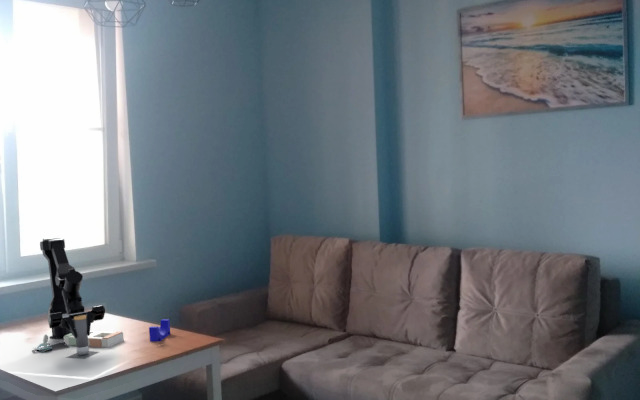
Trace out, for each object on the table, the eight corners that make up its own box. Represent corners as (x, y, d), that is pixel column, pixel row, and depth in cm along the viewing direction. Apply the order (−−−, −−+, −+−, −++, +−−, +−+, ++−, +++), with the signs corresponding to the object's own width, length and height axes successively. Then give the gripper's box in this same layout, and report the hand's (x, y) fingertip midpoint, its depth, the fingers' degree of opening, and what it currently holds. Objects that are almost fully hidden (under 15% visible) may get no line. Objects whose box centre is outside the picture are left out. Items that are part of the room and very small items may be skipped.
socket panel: (63, 346, 251) (62, 336, 251) (80, 339, 260) (79, 329, 259) (107, 348, 244) (107, 338, 244) (123, 341, 253) (122, 331, 252)
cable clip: (159, 334, 261) (158, 319, 261) (170, 334, 260) (169, 319, 260) (146, 343, 249) (145, 327, 249) (157, 343, 248) (156, 327, 248)
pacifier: (35, 356, 240) (53, 352, 243) (33, 339, 240) (51, 335, 243) (32, 351, 247) (49, 348, 250) (30, 335, 246) (48, 331, 249)
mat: (66, 359, 234) (65, 357, 233) (81, 352, 241) (81, 350, 241) (84, 360, 231) (84, 358, 231) (99, 353, 238) (99, 351, 238)
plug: (74, 354, 235) (71, 317, 234) (82, 350, 238) (79, 314, 237) (83, 354, 233) (80, 318, 232) (91, 351, 237) (88, 315, 236)
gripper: (96, 308, 253) (106, 343, 244) (43, 317, 243) (52, 354, 234) (100, 291, 246) (110, 326, 237) (46, 299, 236) (55, 336, 227)
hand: (82, 336), depth 234 cm, fingers closed on plug, 4 cm apart
